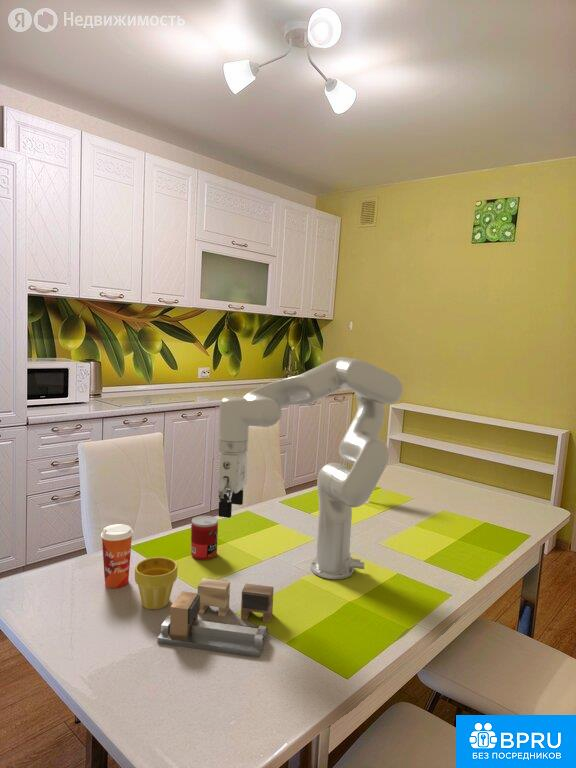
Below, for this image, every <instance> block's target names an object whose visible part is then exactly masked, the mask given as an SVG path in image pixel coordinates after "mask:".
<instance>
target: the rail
mask: <svg viewBox="0 0 576 768" xmlns="http://www.w3.org/2000/svg"><path fill="white" fill-rule="evenodd" d="M199 611H200V595H198V592H190V591H181V592H180V593H179V595H178V596H177V597H176V599H175V600H174V602H173V603H172V604H171V606H170V612H169V613H168V615H167V616H166V617H165V619H164V621H163V622H162V623H161V625H160V626H161V627H160V633H159V634H158V636H157V640H156V641H157V643H158V644H164V645H170V646H171V645H172V646H178V647H183V648H190V649H191V648H192V649H199V650H204V651H205V650H206V651H213V652H219V653H226V654H232V655H240V656H246V657H252V658H260V657H261V653H262V650H263V647H264V645H265V642H266V639H267V636H268V630H269V628H267V626H266V625H261V624H259V626H250V625H243V624H237V623H228V622H220V621H213V620H208V619H200V618H199V613H198V612H199Z"/></svg>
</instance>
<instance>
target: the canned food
mask: <svg viewBox="0 0 576 768" xmlns="http://www.w3.org/2000/svg"><path fill="white" fill-rule="evenodd" d="M218 521H219V519H217V517H215V516H212V515H198V516H194V517H192V519H191V527H190V528H191V529H190V530H191V531H190V554H191V557H192V558H193V559H196V560H198V561H207V560H212V559H214V558H215V557H216V556H217V554H218V553H217V552H218V538H219V537H218V532H219V530H218V527H219V522H218Z"/></svg>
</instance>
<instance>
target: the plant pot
mask: <svg viewBox="0 0 576 768" xmlns="http://www.w3.org/2000/svg"><path fill="white" fill-rule="evenodd" d="M177 578H178V563H177V562H176V561H175V560H174V559H172V558H169V557H164V556H155V557H154V556H153V557H149V558H145V559H142V560H141V561H139V562H137V564H136V565H135V567H134V581H135V584H136V585H137V586H138V591H139V596H140V601H141V605H142V607H143V608H145V609H148V610H159V609H163V608H165V607H166V606H168V605H169V602H170V599H171V594H172V591H173V587H174V584H175V582H176V580H177Z"/></svg>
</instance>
